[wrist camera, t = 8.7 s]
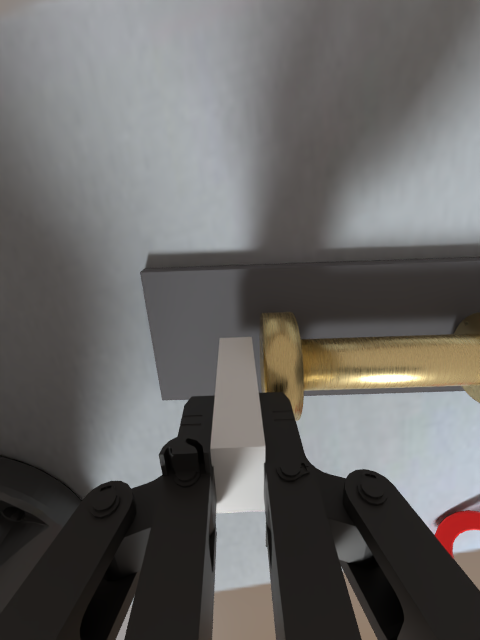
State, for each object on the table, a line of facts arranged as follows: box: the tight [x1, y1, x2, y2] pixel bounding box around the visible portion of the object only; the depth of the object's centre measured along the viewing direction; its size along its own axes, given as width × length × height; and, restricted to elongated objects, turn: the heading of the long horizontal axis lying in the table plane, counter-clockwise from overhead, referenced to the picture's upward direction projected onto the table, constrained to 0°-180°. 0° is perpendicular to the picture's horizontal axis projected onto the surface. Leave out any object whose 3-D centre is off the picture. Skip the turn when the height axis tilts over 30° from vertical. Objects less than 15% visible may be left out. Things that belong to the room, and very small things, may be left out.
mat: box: [140, 257, 480, 400], centre depth 17 cm, size 22×8×1 cm, turn 92°
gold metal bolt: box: [260, 312, 480, 421], centre depth 14 cm, size 18×5×5 cm, turn 92°
